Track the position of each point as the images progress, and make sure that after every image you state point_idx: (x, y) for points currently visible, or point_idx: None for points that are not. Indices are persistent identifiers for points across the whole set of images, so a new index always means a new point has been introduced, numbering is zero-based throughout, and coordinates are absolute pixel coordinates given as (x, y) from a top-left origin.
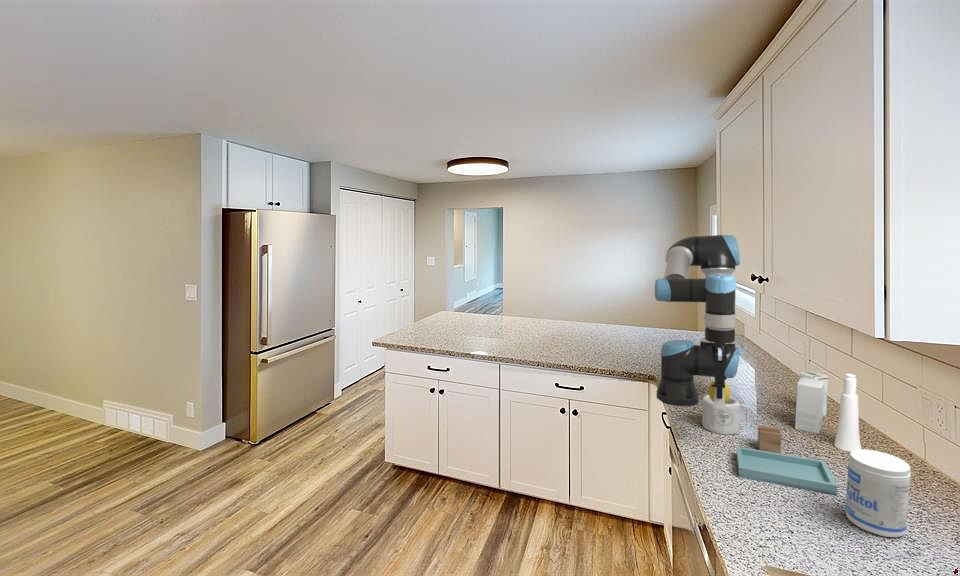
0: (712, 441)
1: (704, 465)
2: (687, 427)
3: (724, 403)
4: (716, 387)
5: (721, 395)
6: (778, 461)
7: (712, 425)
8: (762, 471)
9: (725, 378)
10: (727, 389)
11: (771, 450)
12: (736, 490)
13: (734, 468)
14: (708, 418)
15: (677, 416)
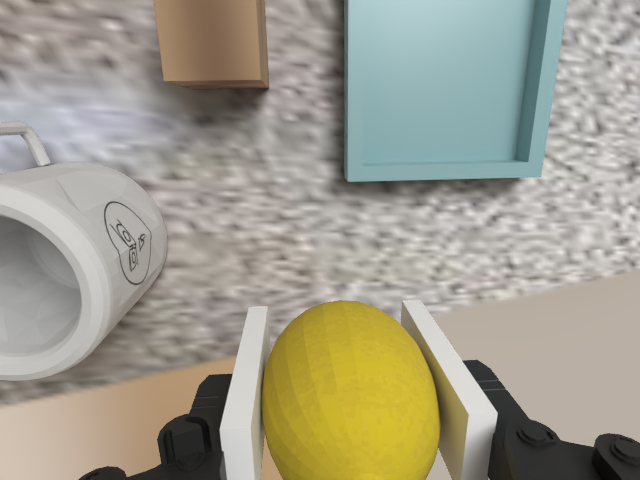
0: (256, 259)
1: (472, 275)
2: (163, 348)
3: (434, 322)
4: (486, 470)
5: (499, 386)
6: (368, 20)
7: (153, 274)
8: (549, 95)
9: (201, 436)
10: (404, 366)
11: (265, 38)
12: (614, 181)
13: (461, 184)
14: (133, 302)
15: (63, 390)
